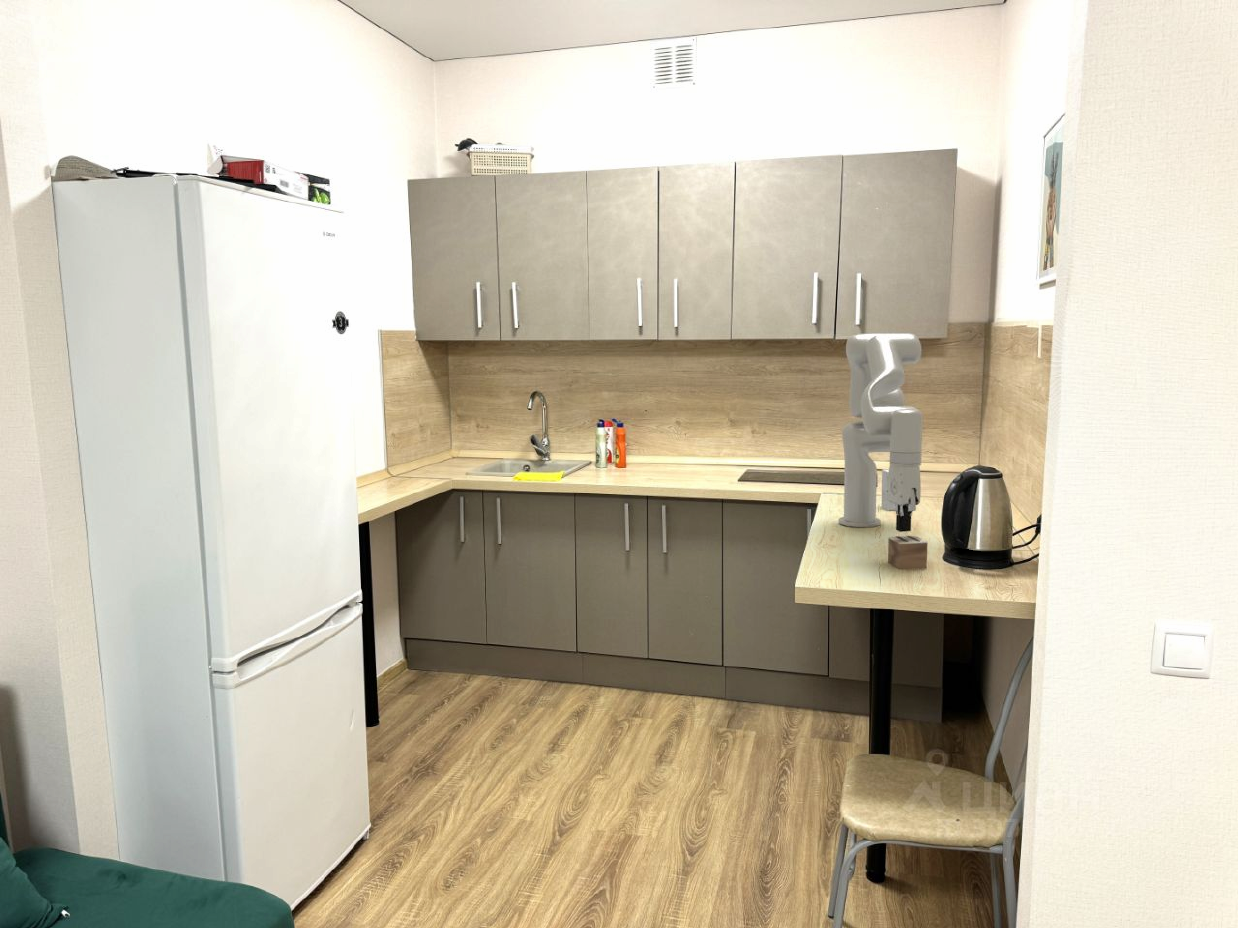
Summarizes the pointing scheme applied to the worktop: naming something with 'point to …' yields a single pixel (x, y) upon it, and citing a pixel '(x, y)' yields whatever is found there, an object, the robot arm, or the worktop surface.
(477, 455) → the worktop surface
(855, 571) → the worktop surface
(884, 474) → the small box
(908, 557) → the walnut block
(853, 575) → the worktop surface
